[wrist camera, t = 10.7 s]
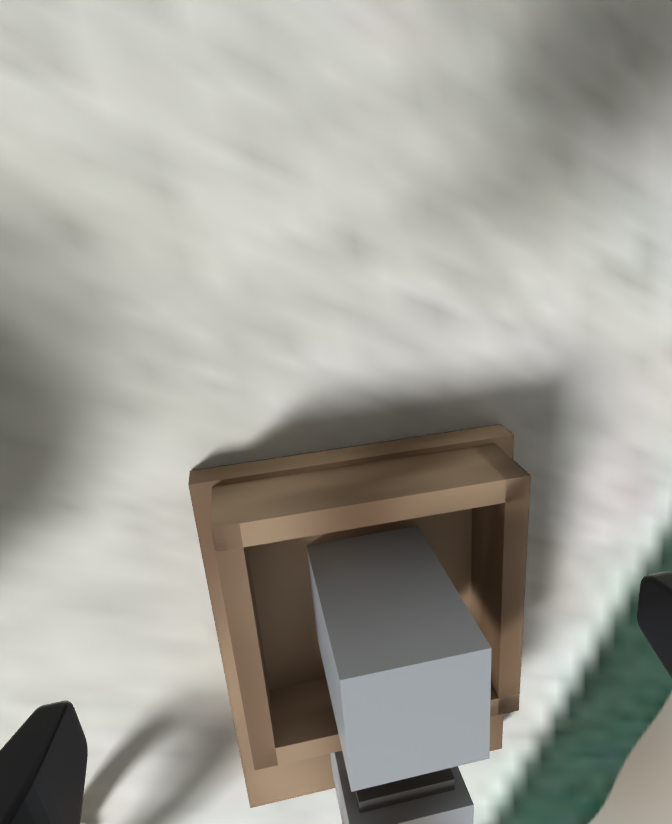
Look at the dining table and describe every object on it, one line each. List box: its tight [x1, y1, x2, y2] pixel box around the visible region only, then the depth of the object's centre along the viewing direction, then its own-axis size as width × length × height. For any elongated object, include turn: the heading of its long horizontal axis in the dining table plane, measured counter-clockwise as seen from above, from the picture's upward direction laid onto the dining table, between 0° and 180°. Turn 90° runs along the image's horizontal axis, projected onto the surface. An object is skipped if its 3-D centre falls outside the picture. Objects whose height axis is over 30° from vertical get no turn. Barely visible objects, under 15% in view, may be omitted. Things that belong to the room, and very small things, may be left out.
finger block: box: [306, 526, 491, 792], centre depth 18 cm, size 4×4×6 cm
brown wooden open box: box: [189, 424, 531, 824], centre depth 20 cm, size 11×15×6 cm
